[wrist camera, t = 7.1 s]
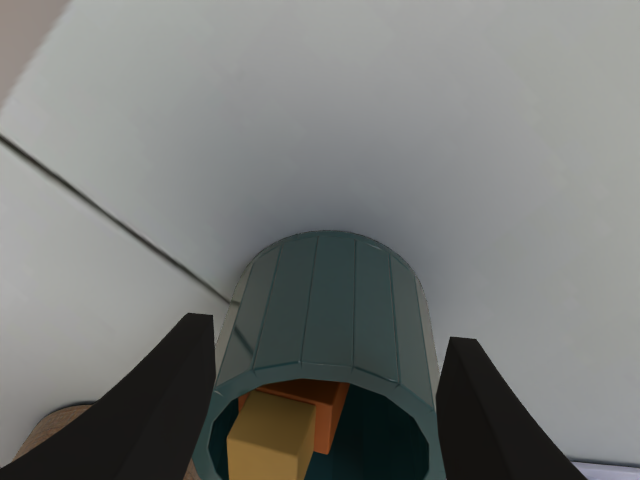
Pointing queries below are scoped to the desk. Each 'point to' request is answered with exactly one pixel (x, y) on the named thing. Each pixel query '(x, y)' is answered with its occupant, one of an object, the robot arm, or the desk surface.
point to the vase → (59, 421)
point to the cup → (333, 355)
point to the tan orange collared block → (283, 428)
